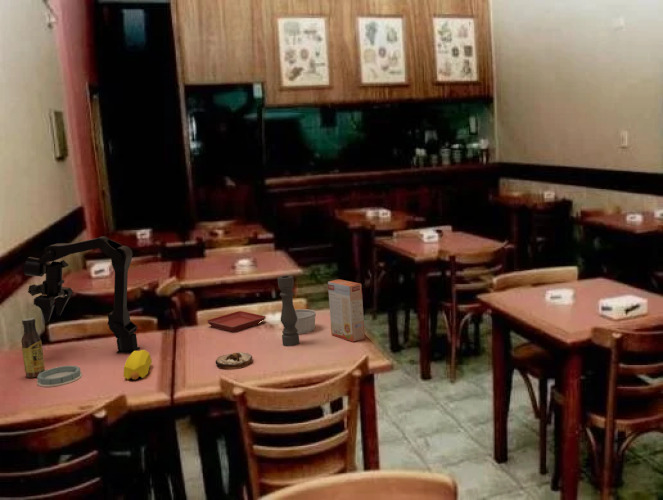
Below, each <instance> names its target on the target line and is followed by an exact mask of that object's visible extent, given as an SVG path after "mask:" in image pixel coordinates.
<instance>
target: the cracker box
mask: <svg viewBox="0 0 663 500" xmlns="http://www.w3.org/2000/svg"><path fill="white" fill-rule="evenodd" d="M327 287H328V288H327V289H328V290H327V291H328V303H329V316H330V317H329V319H330V331H331V333H330V334H331V336H335V337H337V338H340V339H343V340H345V341H350V342H352V343H354V342H357V341H362V340H365V337H366V335H365V320H364V318H365V317H364V307H363V306H364V305H363V288H362V287H363V286H362V283H360V282H354V281H349V280H344V279H334V280H329V281H327Z"/></svg>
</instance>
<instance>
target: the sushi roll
mask: <svg viewBox="0 0 663 500" xmlns="http://www.w3.org/2000/svg"><path fill="white" fill-rule="evenodd" d="M252 363H253V356H252V354H250V353H248V352H241V351H239V352H238V351H237V352H233V353H229V354H222V355H220V356H218V357H217V358H216V360H215V364H216V367H217V368H219V369H220V370H228V371H229V370H237V369H241V368H244V367H247V366H248V365H251V364H252Z"/></svg>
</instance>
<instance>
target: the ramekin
mask: <svg viewBox="0 0 663 500" xmlns="http://www.w3.org/2000/svg"><path fill="white" fill-rule="evenodd" d="M295 312H296V315H297V322H296V324H295V325H296V326H295V327H296V329H297V330H298V332H297V333H298V334H299V335H302V334H303V335H304V334H308V333H311V332H313V331H314V329H315V328H316V315H317V314H316V311H315V310H313V309H307V308H306V309H305V308H298V309H295Z"/></svg>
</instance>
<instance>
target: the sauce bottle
mask: <svg viewBox="0 0 663 500" xmlns="http://www.w3.org/2000/svg"><path fill="white" fill-rule="evenodd" d="M21 321H22V323H21V324H22V325H23V326H22V327H23V336H22V337H21V346H22V347H21V352H22V358H23V359H22V360H23V366H24V372H25V376H26V378H31V379H33V378H37V376H38V375H39V373H41V372H43V371H45V370H46V367H45V358H44V351H43V350H44V349H43V344H42V343H43V342H42V339H41V338H40V336H39V334H38V332H37V329H36V318H35V317H28V318H27V317H26V318H23V319H21Z"/></svg>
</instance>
